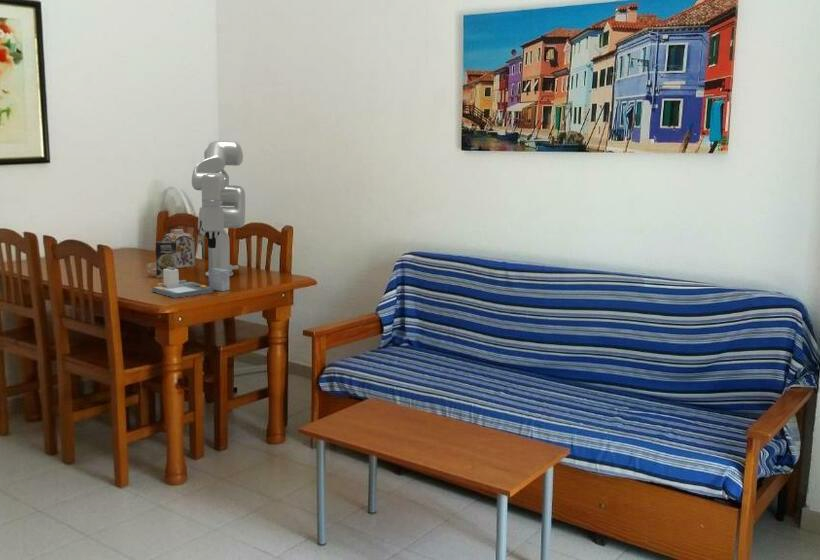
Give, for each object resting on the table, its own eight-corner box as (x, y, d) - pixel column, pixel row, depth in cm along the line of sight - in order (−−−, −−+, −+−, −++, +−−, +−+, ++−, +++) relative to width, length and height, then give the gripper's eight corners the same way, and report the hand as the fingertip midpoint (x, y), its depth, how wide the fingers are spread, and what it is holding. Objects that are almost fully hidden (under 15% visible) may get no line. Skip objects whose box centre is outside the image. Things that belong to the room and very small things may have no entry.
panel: (190, 286, 347) (189, 279, 347) (213, 292, 336) (212, 285, 335) (152, 291, 334) (152, 284, 333) (174, 298, 323) (174, 290, 322)
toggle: (172, 284, 339) (171, 266, 337) (178, 286, 335) (178, 267, 334) (163, 285, 336) (163, 267, 334) (170, 287, 333) (169, 268, 331)
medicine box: (229, 290, 342) (229, 269, 341) (222, 291, 339) (222, 271, 337) (216, 287, 346) (215, 267, 345) (208, 289, 342) (208, 269, 341)
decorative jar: (195, 266, 394) (195, 230, 390) (173, 269, 386) (172, 231, 382) (184, 263, 402) (183, 227, 399) (162, 265, 395) (161, 229, 391)
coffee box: (156, 278, 363) (155, 242, 360) (156, 275, 369) (155, 240, 366) (177, 277, 365) (176, 242, 362) (177, 275, 371) (176, 240, 368)
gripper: (221, 202, 344) (222, 245, 347) (190, 204, 333) (191, 248, 336) (231, 204, 339) (232, 247, 342) (200, 205, 328) (200, 250, 331)
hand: (211, 247), depth 339 cm, fingers closed
